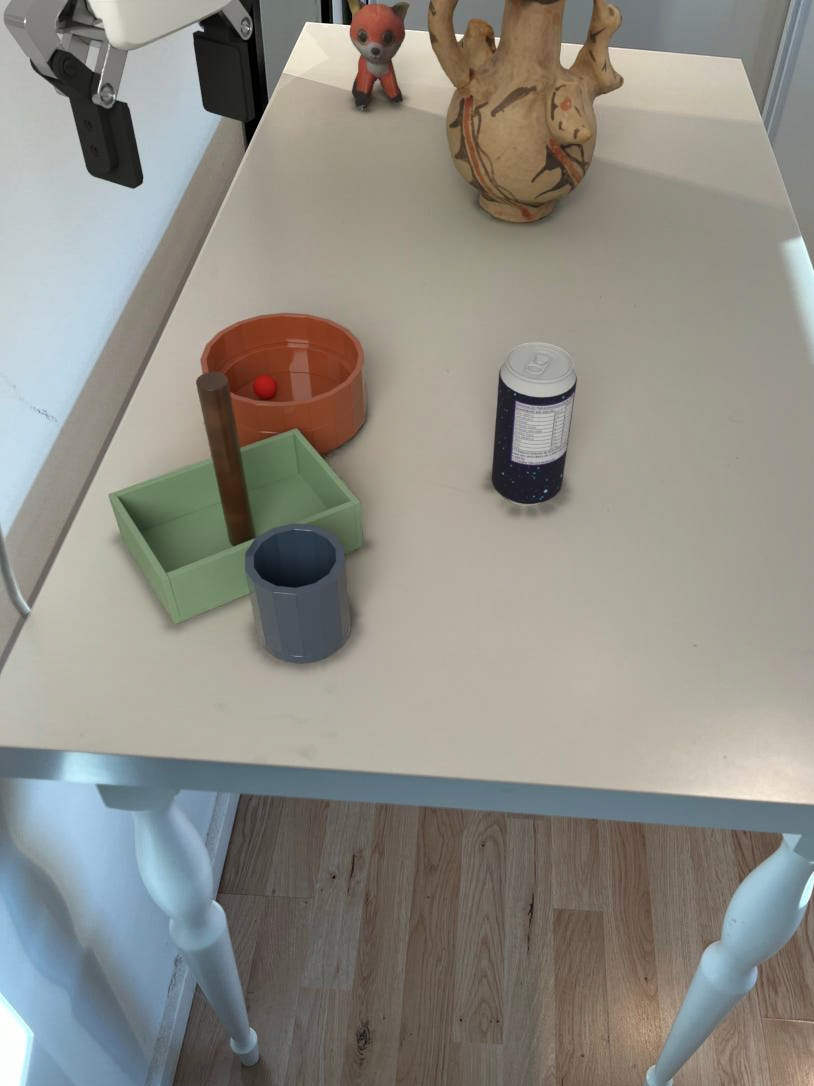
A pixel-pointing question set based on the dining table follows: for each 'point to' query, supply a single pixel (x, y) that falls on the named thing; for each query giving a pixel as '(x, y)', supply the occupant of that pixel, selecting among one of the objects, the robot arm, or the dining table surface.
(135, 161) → the robot arm
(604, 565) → the dining table surface
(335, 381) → the bowl
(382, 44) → the stuffed fox
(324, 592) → the holder
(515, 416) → the beverage can
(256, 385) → the berry
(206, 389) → the stick
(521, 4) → the ceramic vessel
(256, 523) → the tray
